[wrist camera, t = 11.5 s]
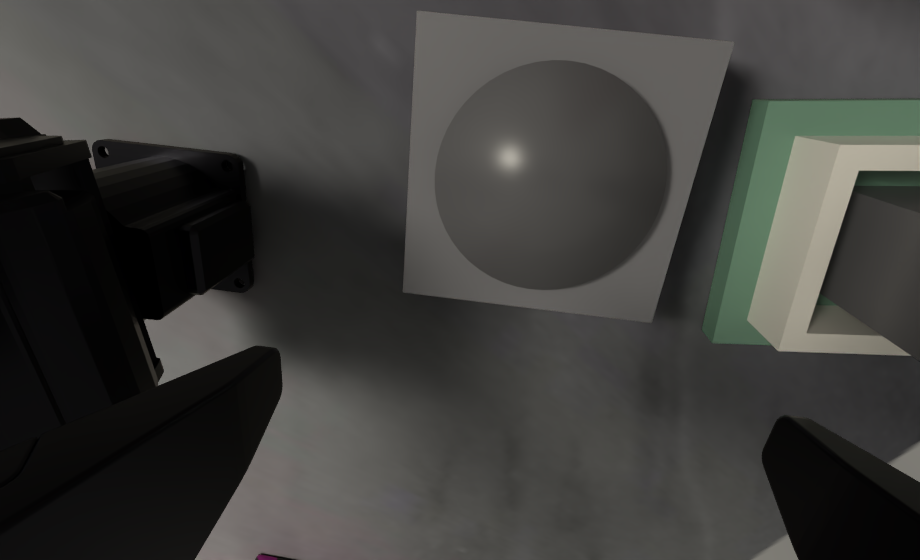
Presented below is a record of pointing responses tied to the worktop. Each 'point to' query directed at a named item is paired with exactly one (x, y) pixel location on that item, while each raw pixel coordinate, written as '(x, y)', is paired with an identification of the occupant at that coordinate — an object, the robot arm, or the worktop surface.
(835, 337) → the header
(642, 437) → the worktop surface
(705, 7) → the worktop surface
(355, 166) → the worktop surface
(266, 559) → the candy bar box
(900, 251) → the dark grey tall block
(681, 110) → the grey domed square block
